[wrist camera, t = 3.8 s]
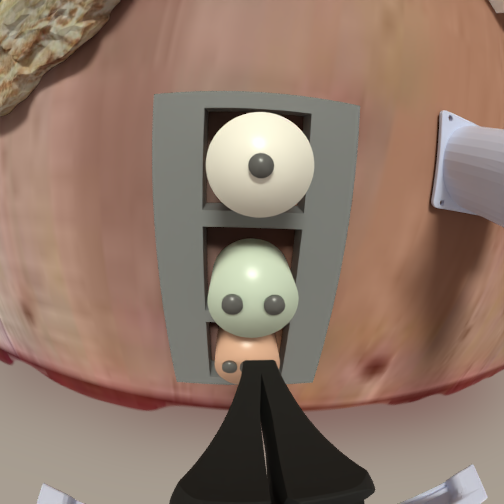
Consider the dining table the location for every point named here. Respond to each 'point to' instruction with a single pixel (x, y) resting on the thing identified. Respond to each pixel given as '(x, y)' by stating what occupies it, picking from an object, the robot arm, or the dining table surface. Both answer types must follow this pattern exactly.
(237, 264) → the button two
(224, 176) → the button one
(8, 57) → the stone
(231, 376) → the button three
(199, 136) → the button board
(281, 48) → the dining table surface
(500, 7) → the decorative still life
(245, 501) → the robot arm
